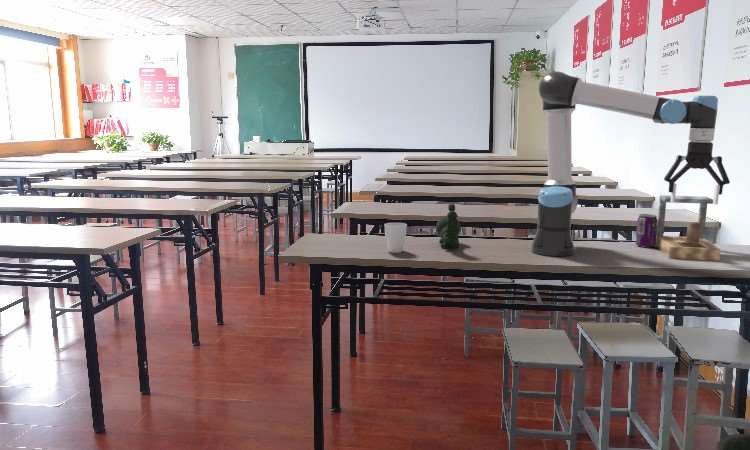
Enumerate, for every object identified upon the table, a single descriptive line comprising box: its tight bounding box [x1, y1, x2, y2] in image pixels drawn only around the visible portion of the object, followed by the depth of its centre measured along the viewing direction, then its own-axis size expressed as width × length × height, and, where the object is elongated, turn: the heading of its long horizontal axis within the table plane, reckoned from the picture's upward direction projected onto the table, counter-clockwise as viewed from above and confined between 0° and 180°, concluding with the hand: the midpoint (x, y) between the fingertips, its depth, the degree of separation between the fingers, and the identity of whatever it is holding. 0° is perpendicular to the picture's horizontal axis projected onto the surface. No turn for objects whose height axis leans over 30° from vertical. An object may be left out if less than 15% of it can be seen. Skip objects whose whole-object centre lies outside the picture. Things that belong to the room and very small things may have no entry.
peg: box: [685, 221, 701, 246], centre depth 209 cm, size 4×4×12 cm
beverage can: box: [635, 213, 658, 248], centre depth 226 cm, size 7×7×12 cm
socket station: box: [655, 194, 722, 261], centre depth 214 cm, size 16×22×20 cm
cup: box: [384, 222, 408, 254], centre depth 217 cm, size 8×8×10 cm
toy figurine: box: [435, 202, 462, 249], centre depth 225 cm, size 9×19×25 cm
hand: (693, 203), depth 207 cm, fingers open, 13 cm apart
